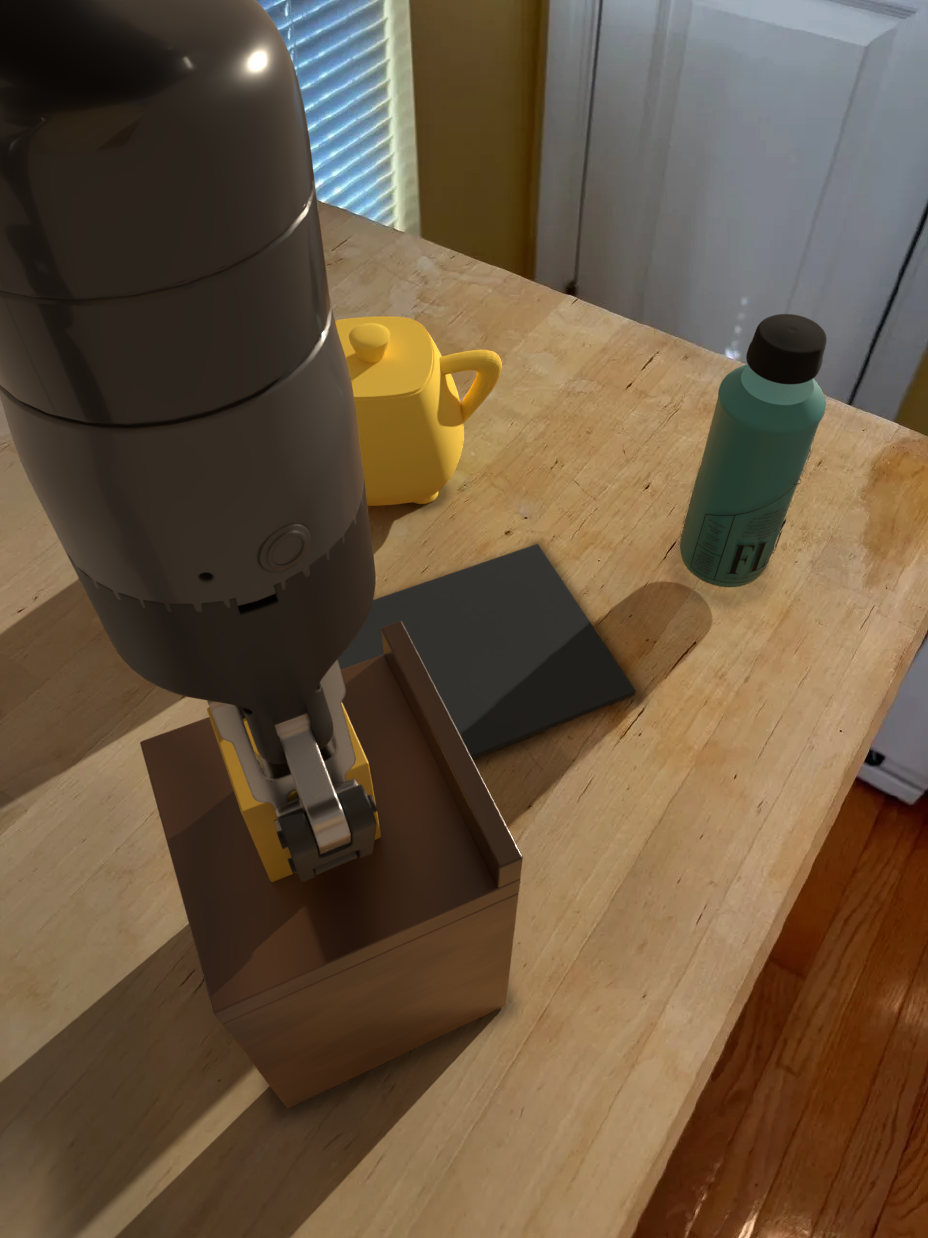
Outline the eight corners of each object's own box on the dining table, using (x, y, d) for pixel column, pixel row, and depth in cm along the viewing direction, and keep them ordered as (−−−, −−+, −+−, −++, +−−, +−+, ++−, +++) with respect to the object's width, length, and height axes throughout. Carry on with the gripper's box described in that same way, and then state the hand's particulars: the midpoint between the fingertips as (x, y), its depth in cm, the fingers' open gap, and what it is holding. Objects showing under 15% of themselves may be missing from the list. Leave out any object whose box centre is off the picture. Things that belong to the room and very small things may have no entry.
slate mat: (375, 798, 57) (375, 793, 56) (303, 629, 64) (301, 623, 64) (635, 695, 61) (636, 690, 61) (537, 548, 69) (538, 543, 68)
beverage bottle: (714, 617, 65) (793, 383, 49) (653, 556, 68) (709, 319, 52) (783, 579, 67) (881, 342, 51) (721, 522, 70) (794, 283, 55)
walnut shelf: (287, 1109, 46) (200, 997, 31) (222, 893, 53) (125, 716, 38) (506, 1005, 49) (523, 857, 34) (419, 813, 56) (401, 619, 41)
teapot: (251, 417, 78) (219, 283, 68) (491, 406, 79) (494, 272, 69) (238, 536, 70) (200, 404, 60) (506, 522, 70) (513, 389, 61)
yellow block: (271, 883, 36) (241, 813, 31) (238, 786, 38) (206, 707, 33) (381, 838, 37) (369, 763, 32) (342, 746, 39) (325, 664, 35)
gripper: (10, 351, 26) (166, 690, 40) (113, 769, 18) (265, 1015, 32) (270, 286, 28) (335, 632, 41) (469, 640, 20) (468, 924, 33)
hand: (304, 796), depth 36 cm, fingers closed on yellow block, 4 cm apart
